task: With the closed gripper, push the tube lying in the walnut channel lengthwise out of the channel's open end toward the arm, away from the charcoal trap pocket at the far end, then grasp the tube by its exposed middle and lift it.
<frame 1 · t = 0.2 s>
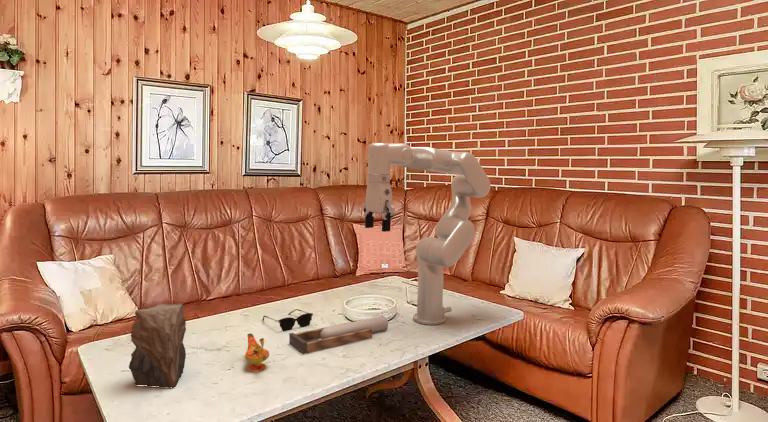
hand: (377, 229, 174), 36 cm above the table, tool pointing down, fingers open, 9 cm apart
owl: (162, 381, 138), on the table
tube: (353, 336, 175), on the table
trap channel: (354, 335, 174), on the table
magic lamp: (256, 365, 149), on the table
sunglasses: (285, 324, 187), on the table
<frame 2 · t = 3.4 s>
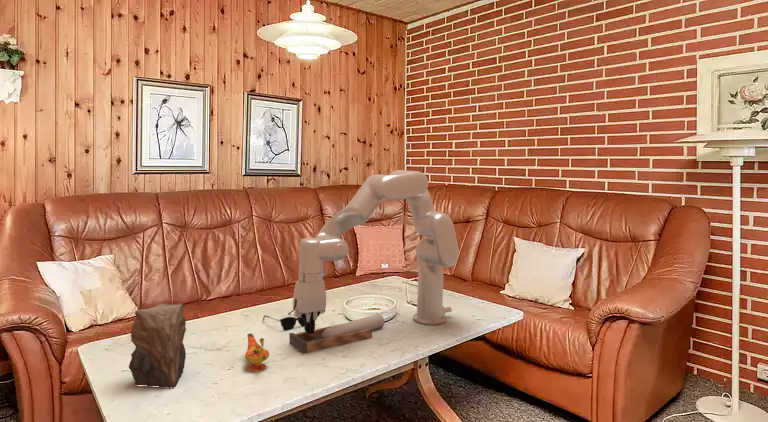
hand: (309, 332, 164), 5 cm above the table, tool pointing down, fingers closed
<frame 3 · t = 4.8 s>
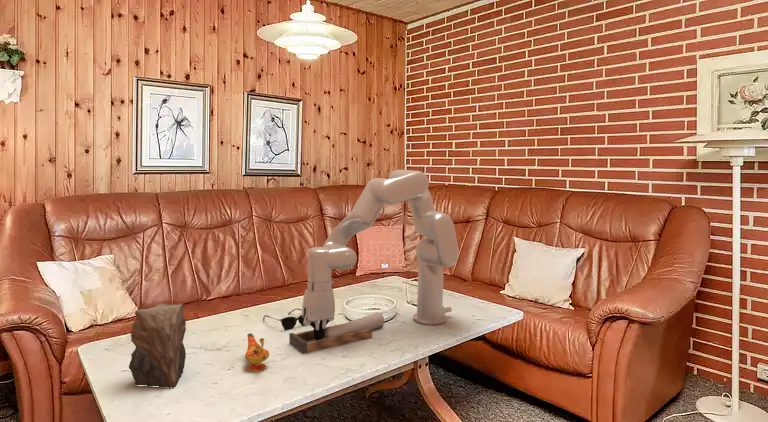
hand: (318, 339, 166), 1 cm above the table, tool pointing down, fingers closed
tube: (354, 335, 175), on the table, touching gripper
everything else where it was.
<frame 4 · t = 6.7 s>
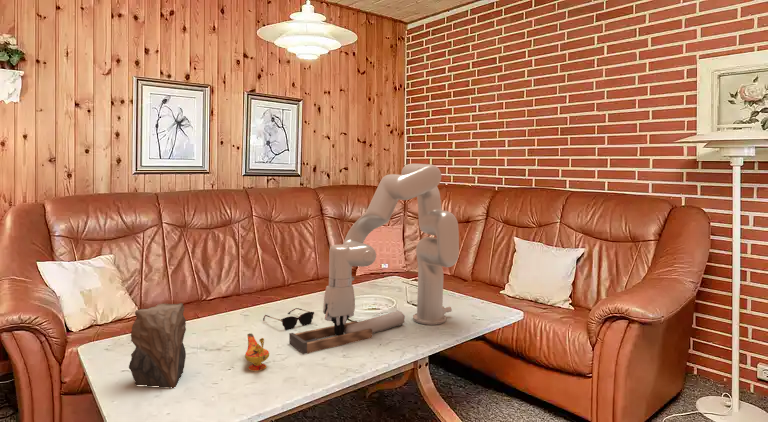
hand: (339, 335, 171), 1 cm above the table, tool pointing down, fingers closed
tube: (374, 332, 179), on the table
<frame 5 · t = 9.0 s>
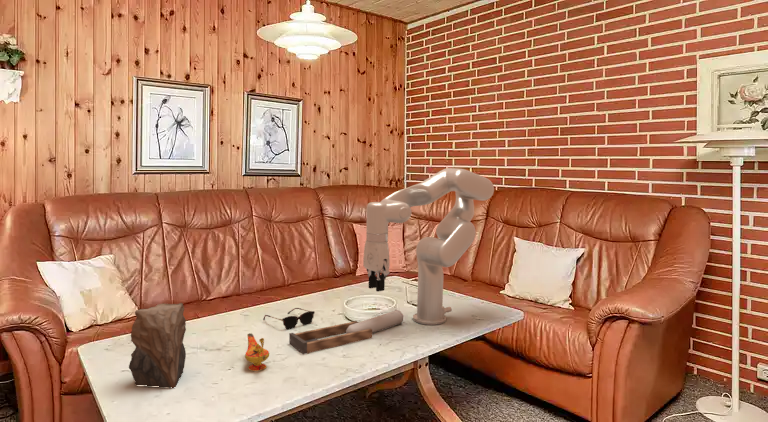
hand: (376, 288, 178), 15 cm above the table, tool pointing down, fingers open, 3 cm apart
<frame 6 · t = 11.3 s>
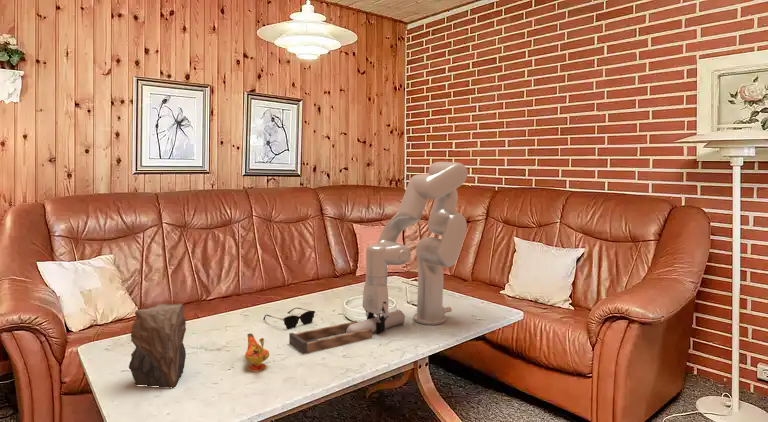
hand: (375, 329, 180), 0 cm above the table, tool pointing down, fingers closed on tube, 5 cm apart
tube: (375, 331, 180), on the table, touching gripper
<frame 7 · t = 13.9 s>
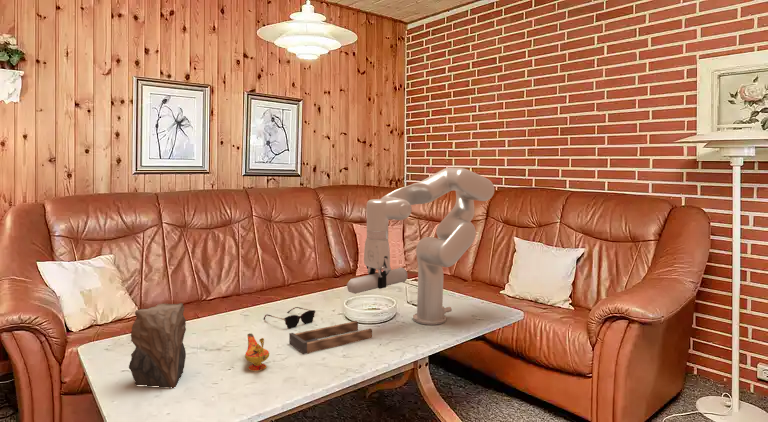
hand: (377, 285, 178), 16 cm above the table, tool pointing down, fingers closed on tube, 5 cm apart
tube: (377, 287, 178), point 16 cm above the table, touching gripper
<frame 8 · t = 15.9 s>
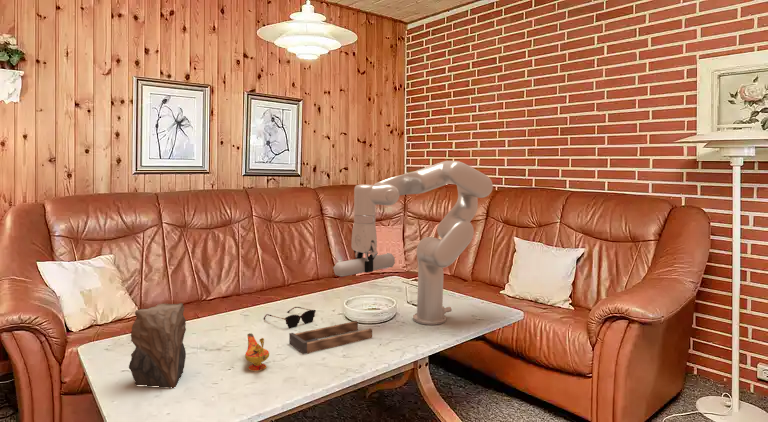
hand: (364, 269, 180), 21 cm above the table, tool pointing down, fingers closed on tube, 5 cm apart
tube: (364, 272, 180), point 20 cm above the table, touching gripper
at the end: the gripper is holding tube; tube point 20.4 cm above the table; tube inside the target area (1.3 cm from its centre), point 20.4 cm above the table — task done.
